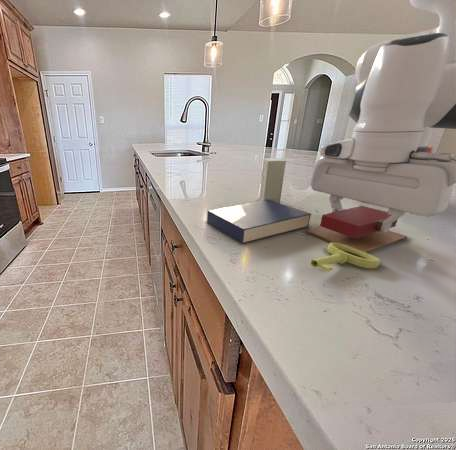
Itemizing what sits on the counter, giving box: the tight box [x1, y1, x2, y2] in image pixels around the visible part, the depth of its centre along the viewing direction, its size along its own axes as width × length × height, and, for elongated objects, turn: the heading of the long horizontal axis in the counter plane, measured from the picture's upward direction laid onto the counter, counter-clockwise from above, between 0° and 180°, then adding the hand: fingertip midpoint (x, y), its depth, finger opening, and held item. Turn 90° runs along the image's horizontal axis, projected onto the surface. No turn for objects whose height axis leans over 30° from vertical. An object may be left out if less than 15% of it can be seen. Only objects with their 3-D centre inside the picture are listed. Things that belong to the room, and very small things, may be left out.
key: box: [309, 242, 381, 272], centre depth 38 cm, size 7×12×2 cm, turn 132°
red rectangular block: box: [319, 205, 399, 239], centre depth 47 cm, size 12×6×2 cm, turn 112°
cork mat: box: [306, 226, 408, 253], centre depth 48 cm, size 14×10×1 cm
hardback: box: [206, 199, 312, 244], centre depth 54 cm, size 18×12×3 cm, turn 113°
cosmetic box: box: [258, 157, 287, 204], centre depth 66 cm, size 6×4×12 cm
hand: (357, 223), depth 47 cm, fingers closed on red rectangular block, 6 cm apart
